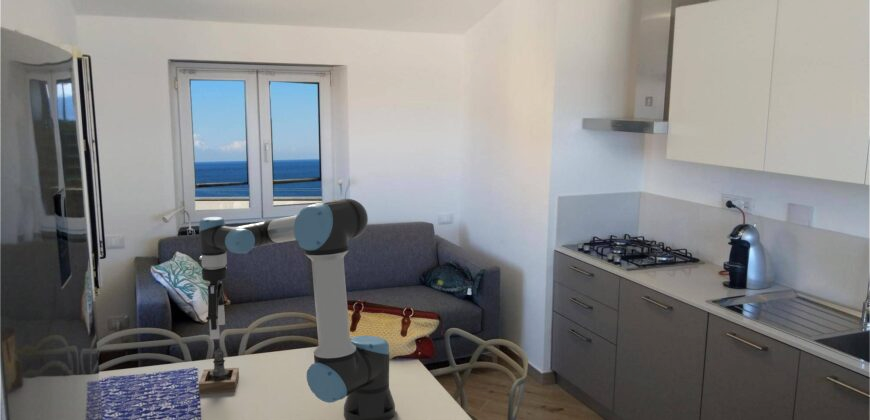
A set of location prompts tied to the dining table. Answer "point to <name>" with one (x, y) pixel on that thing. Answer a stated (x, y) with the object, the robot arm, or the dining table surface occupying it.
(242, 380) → the dining table surface
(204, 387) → the walnut holder
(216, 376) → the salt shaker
